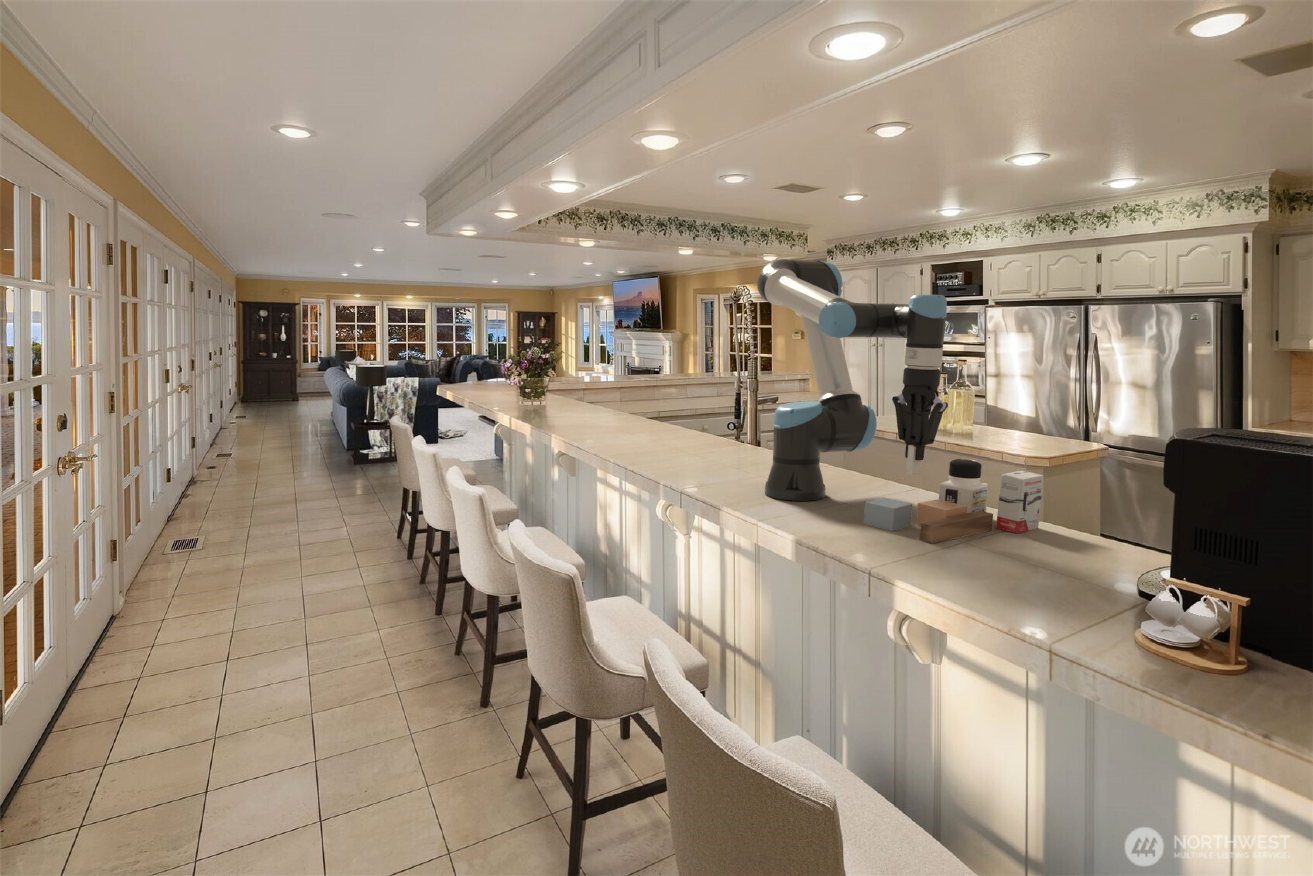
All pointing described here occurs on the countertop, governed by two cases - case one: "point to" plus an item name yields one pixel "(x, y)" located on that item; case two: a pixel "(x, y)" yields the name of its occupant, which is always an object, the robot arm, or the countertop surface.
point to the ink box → (1019, 501)
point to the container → (965, 485)
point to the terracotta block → (938, 510)
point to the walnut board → (955, 526)
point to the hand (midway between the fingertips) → (912, 473)
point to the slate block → (888, 514)
